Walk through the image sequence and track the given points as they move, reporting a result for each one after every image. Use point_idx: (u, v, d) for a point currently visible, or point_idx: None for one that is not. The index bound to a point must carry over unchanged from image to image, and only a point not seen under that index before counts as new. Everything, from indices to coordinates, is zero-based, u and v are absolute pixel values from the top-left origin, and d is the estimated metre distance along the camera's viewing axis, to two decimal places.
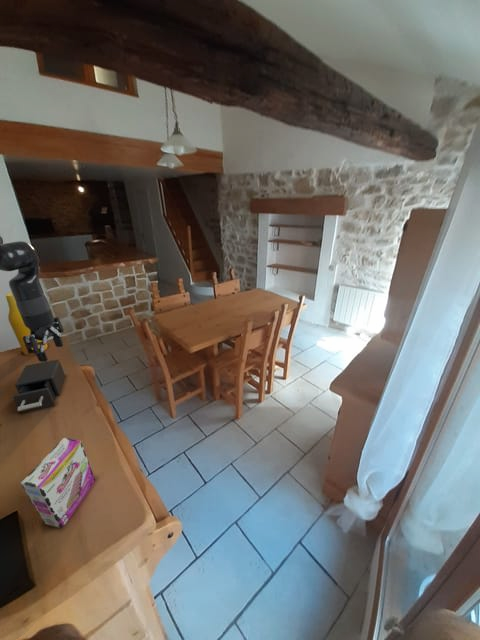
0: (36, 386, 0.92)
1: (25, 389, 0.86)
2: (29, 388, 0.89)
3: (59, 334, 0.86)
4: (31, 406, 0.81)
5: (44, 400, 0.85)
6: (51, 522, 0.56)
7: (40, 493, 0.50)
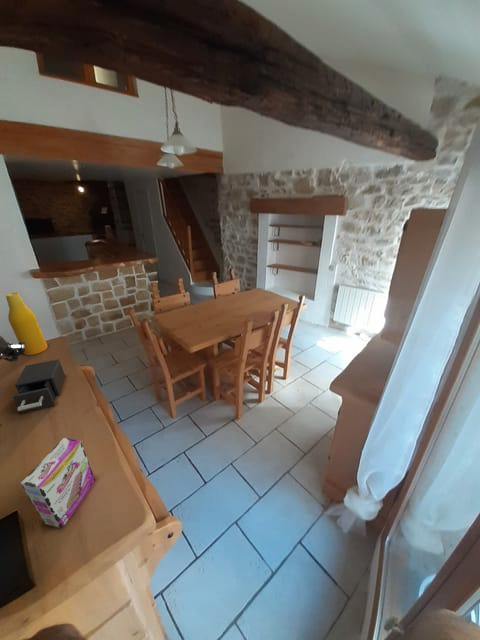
0: (36, 386, 0.92)
1: (25, 389, 0.86)
2: (29, 388, 0.89)
3: (8, 358, 0.72)
4: (31, 406, 0.81)
5: (44, 400, 0.85)
6: (51, 522, 0.56)
7: (40, 493, 0.50)
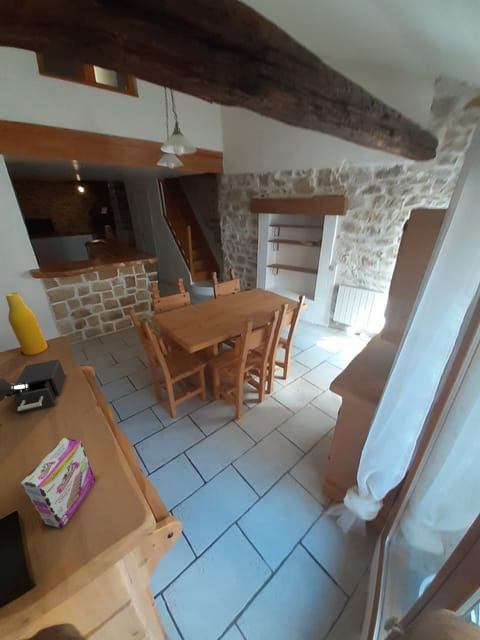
0: (36, 386, 0.92)
1: None
2: (29, 388, 0.89)
3: None
4: (31, 406, 0.81)
5: (44, 400, 0.85)
6: (51, 522, 0.56)
7: (40, 493, 0.50)
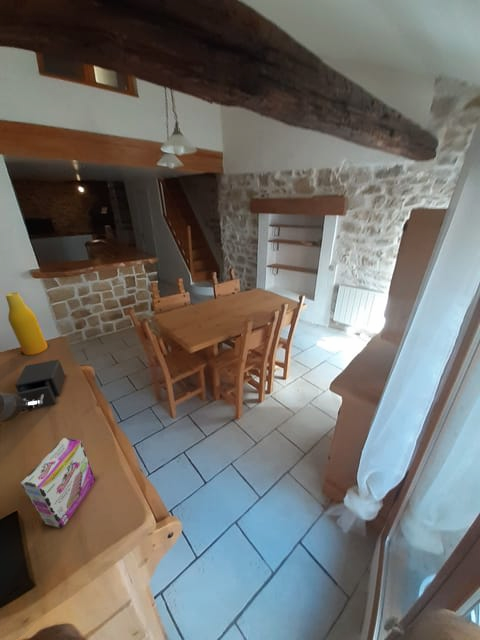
0: (37, 384, 0.93)
1: (26, 387, 0.87)
2: (30, 386, 0.90)
3: None
4: None
5: (45, 398, 0.86)
6: (51, 522, 0.56)
7: (40, 493, 0.50)
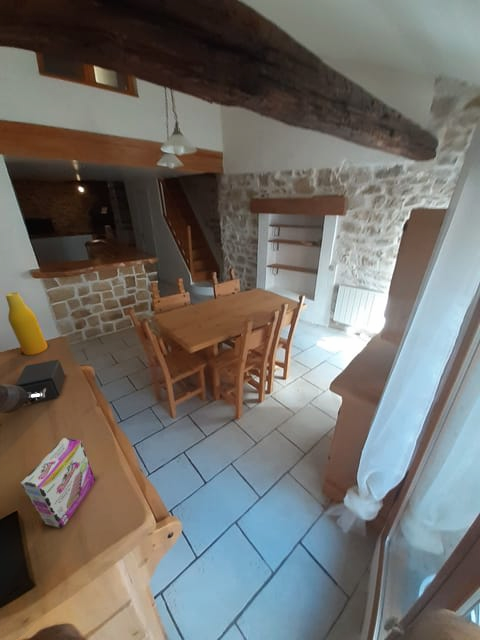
0: None
1: None
2: None
3: None
4: None
5: (47, 392, 0.89)
6: (51, 522, 0.56)
7: (40, 493, 0.50)
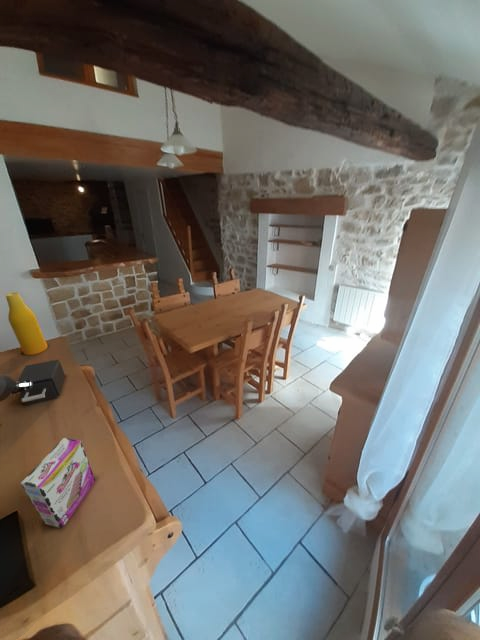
0: None
1: None
2: None
3: None
4: (35, 398, 0.84)
5: (47, 392, 0.89)
6: (51, 522, 0.56)
7: (40, 493, 0.50)
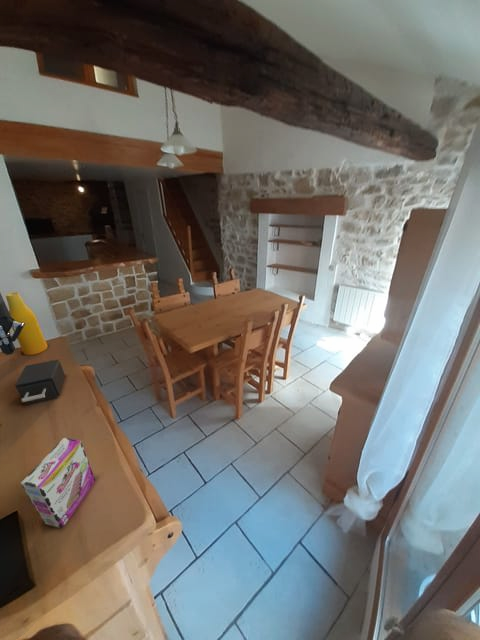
0: None
1: None
2: None
3: (4, 342, 0.76)
4: (35, 398, 0.84)
5: (47, 392, 0.89)
6: (51, 522, 0.56)
7: (40, 493, 0.50)
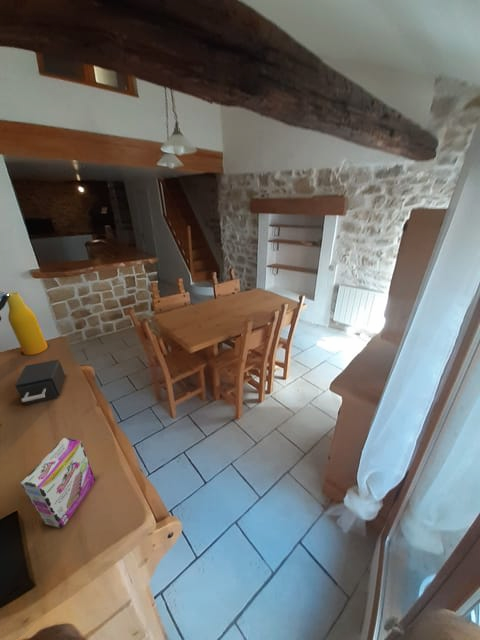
0: None
1: None
2: None
3: None
4: (35, 398, 0.84)
5: (47, 392, 0.89)
6: (51, 522, 0.56)
7: (40, 493, 0.50)
